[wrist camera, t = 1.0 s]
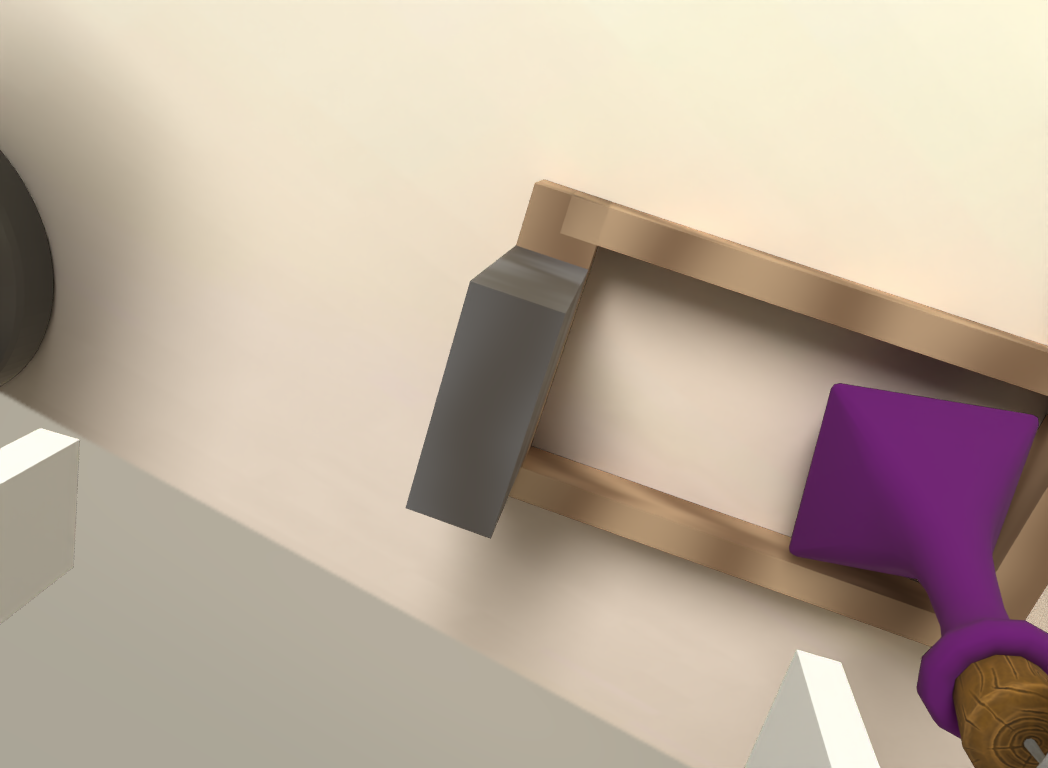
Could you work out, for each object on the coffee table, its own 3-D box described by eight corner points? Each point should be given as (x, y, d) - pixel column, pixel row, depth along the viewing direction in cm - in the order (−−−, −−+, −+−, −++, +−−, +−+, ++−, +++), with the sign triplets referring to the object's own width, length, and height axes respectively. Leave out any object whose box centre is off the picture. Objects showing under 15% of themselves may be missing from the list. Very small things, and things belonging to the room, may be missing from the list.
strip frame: (461, 452, 37) (388, 569, 27) (543, 179, 32) (493, 199, 22) (971, 633, 35) (1093, 827, 25) (1130, 373, 31) (1351, 485, 21)
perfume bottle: (950, 549, 34) (1233, 954, 17) (776, 517, 35) (885, 873, 18) (1004, 389, 32) (1396, 678, 15) (816, 359, 33) (986, 600, 16)
